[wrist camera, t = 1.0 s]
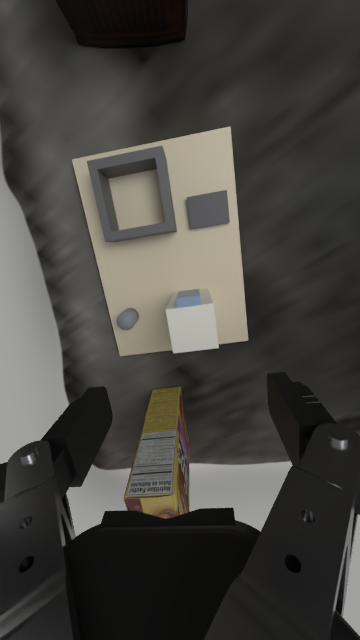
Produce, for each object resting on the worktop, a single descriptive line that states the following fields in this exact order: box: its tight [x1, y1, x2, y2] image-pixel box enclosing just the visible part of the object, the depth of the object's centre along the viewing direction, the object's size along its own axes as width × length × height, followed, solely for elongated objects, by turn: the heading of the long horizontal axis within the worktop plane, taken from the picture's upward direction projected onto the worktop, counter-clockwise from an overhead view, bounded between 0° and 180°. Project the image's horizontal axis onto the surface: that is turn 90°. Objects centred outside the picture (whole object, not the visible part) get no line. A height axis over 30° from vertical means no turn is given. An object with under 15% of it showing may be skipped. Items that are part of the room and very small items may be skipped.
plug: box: [166, 288, 219, 353], centre depth 24 cm, size 4×5×8 cm
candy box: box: [124, 387, 189, 519], centre depth 26 cm, size 9×4×15 cm, turn 8°
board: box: [72, 127, 248, 356], centre depth 26 cm, size 16×22×4 cm
